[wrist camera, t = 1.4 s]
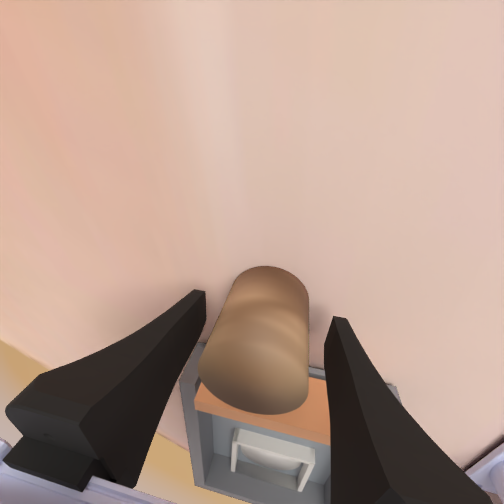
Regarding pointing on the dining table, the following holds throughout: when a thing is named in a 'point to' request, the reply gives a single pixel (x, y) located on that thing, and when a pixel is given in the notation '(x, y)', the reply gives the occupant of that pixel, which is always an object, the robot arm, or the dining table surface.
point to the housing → (253, 453)
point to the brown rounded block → (260, 344)
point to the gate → (292, 423)
